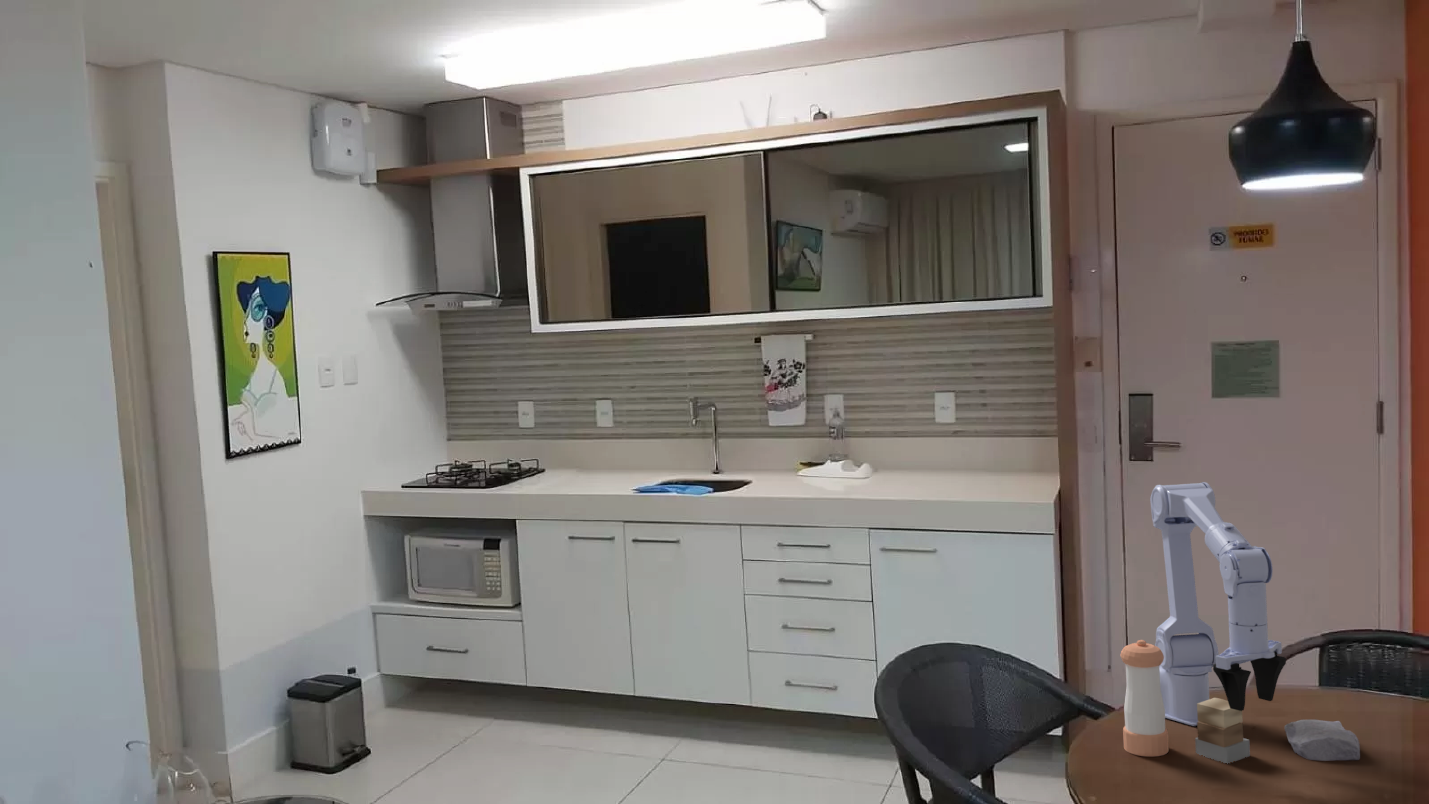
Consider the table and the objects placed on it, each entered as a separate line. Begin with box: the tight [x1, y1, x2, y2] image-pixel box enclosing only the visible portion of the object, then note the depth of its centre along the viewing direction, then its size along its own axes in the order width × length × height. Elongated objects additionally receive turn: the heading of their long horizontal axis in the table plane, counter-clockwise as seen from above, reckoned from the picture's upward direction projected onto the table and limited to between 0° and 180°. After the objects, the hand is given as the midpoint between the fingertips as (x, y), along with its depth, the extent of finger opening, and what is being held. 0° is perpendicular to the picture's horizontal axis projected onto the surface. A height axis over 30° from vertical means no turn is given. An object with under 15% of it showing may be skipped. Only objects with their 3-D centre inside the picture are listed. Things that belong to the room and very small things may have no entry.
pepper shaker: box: [1120, 639, 1170, 758], centre depth 193 cm, size 7×7×19 cm
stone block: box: [1284, 719, 1361, 762], centre depth 189 cm, size 12×5×10 cm
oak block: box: [1197, 697, 1243, 728], centre depth 189 cm, size 5×5×3 cm
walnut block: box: [1196, 722, 1244, 747], centre depth 188 cm, size 5×5×3 cm
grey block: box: [1194, 736, 1251, 765], centre depth 189 cm, size 6×6×3 cm
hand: (1251, 704), depth 182 cm, fingers open, 7 cm apart
